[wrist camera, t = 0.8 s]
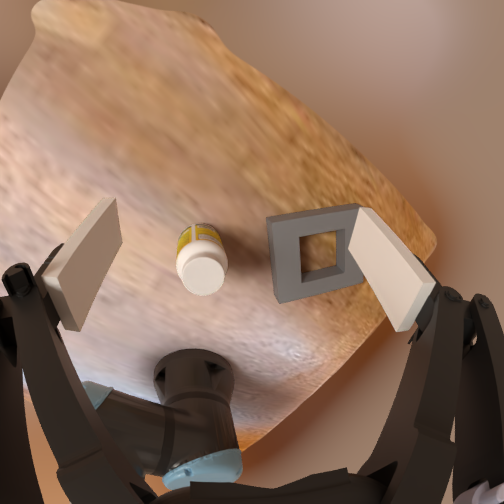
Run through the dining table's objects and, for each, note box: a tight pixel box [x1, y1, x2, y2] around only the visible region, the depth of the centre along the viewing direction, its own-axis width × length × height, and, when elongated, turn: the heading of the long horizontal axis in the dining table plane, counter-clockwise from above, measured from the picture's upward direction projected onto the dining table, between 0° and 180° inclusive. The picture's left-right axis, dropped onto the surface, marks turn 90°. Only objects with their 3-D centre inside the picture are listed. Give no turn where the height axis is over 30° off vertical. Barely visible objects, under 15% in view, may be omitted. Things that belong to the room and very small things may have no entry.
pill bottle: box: [176, 223, 228, 296], centre depth 35 cm, size 6×6×11 cm
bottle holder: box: [266, 203, 366, 304], centre depth 43 cm, size 13×15×3 cm
